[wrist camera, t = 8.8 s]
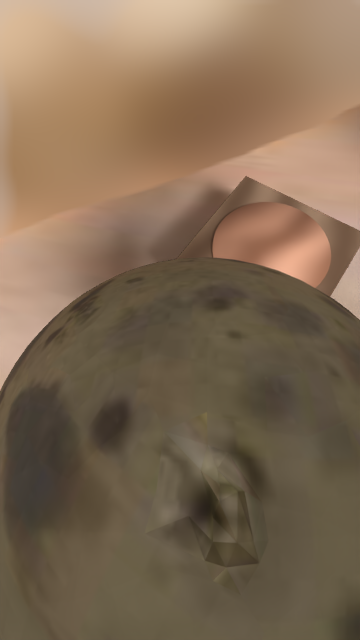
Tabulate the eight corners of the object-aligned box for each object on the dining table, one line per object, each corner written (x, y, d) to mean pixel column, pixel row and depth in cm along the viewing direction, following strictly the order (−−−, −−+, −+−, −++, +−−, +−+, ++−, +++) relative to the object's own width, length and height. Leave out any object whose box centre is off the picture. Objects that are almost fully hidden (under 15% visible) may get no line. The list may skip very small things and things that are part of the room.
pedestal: (332, 270, 38) (369, 232, 31) (277, 361, 34) (302, 343, 26) (236, 219, 42) (246, 173, 34) (175, 295, 38) (171, 263, 30)
